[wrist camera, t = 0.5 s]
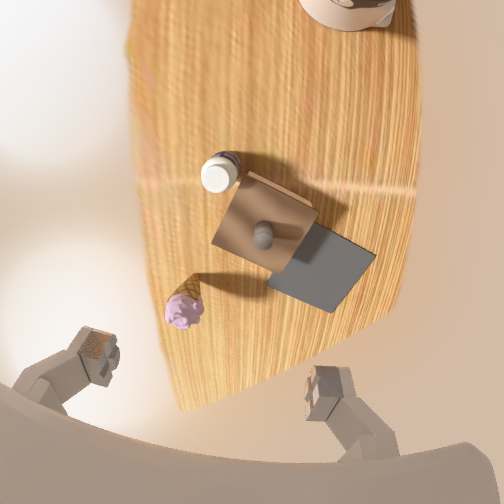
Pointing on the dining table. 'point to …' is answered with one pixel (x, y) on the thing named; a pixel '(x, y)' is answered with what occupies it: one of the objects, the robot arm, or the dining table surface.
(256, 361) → the dining table surface
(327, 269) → the mat
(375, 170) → the dining table surface
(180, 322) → the ice cream cone
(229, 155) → the pill bottle
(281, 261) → the lid
